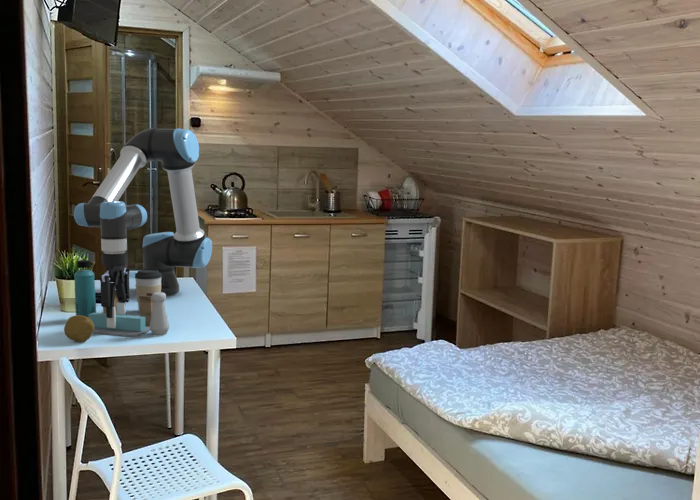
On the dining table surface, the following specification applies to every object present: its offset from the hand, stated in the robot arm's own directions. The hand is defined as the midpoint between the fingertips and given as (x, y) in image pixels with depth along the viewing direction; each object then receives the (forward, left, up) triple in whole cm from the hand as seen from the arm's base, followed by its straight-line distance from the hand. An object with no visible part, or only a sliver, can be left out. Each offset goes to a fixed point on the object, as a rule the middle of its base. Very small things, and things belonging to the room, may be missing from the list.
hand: (116, 324), depth 220 cm
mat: (0, 0, -2) cm, 2 cm away
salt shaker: (0, +14, -2) cm, 15 cm away
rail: (0, 0, -1) cm, 1 cm away
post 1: (-9, -6, -2) cm, 11 cm away
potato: (+14, -4, -2) cm, 14 cm away
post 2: (-9, +6, -2) cm, 11 cm away
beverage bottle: (-8, -16, -2) cm, 18 cm away
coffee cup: (-24, -2, -2) cm, 24 cm away
